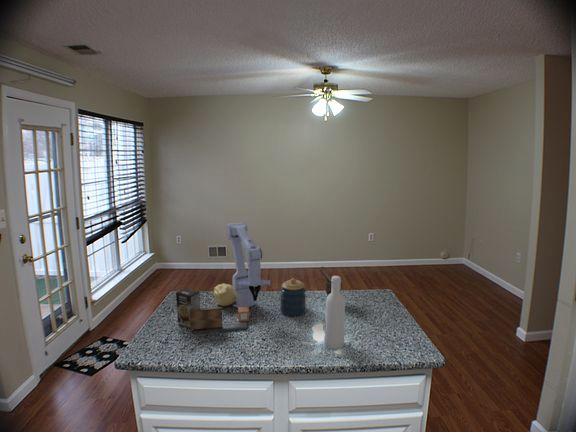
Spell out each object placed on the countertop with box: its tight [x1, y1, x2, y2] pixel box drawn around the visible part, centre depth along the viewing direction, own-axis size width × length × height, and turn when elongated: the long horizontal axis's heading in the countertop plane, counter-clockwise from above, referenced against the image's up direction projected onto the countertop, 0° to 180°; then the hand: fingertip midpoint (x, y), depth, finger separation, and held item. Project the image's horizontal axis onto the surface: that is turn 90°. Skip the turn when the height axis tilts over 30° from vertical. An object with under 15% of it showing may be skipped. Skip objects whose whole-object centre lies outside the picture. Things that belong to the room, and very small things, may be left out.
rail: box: [192, 321, 248, 335], centre depth 154 cm, size 24×4×1 cm, turn 100°
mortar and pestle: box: [319, 266, 343, 296], centre depth 178 cm, size 12×9×20 cm
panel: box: [190, 306, 223, 331], centre depth 152 cm, size 14×2×9 cm, turn 100°
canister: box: [279, 277, 307, 318], centre depth 170 cm, size 13×13×18 cm
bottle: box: [324, 275, 346, 350], centre depth 139 cm, size 8×8×30 cm
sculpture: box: [213, 282, 236, 307], centre depth 179 cm, size 11×12×11 cm
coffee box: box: [175, 287, 201, 329], centre depth 158 cm, size 9×6×16 cm
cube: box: [237, 307, 250, 323], centre depth 163 cm, size 5×5×5 cm
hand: (255, 300), depth 160 cm, fingers closed
